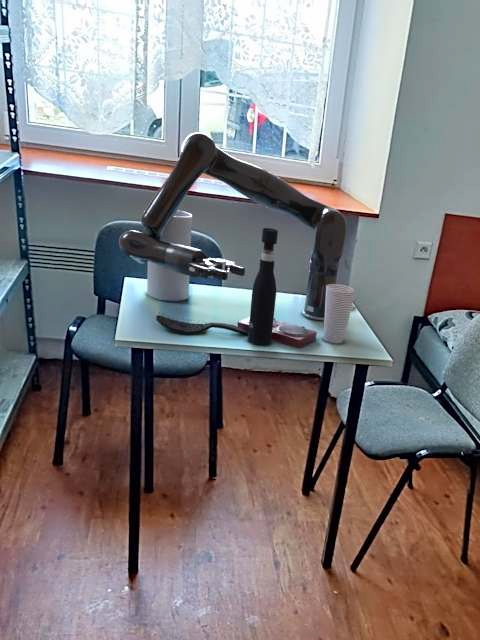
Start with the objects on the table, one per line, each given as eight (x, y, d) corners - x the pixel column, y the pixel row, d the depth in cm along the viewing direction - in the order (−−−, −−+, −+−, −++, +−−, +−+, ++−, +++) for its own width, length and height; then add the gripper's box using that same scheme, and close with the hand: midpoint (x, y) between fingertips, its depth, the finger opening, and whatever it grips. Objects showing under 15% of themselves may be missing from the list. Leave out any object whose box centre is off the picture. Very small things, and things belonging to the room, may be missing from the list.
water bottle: (274, 341, 184) (286, 231, 170) (264, 347, 179) (276, 233, 165) (254, 336, 186) (264, 225, 171) (243, 341, 180) (253, 228, 166)
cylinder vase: (187, 303, 203) (191, 219, 191) (145, 299, 200) (146, 213, 188) (188, 293, 213) (192, 212, 201) (148, 288, 210) (149, 206, 198)
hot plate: (258, 321, 199) (259, 312, 197) (317, 338, 193) (318, 329, 192) (237, 329, 189) (238, 319, 187) (298, 347, 183) (299, 338, 182)
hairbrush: (250, 329, 181) (156, 317, 173) (248, 342, 183) (155, 330, 175) (246, 320, 188) (156, 308, 180) (245, 332, 190) (155, 321, 182)
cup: (344, 347, 190) (353, 294, 183) (316, 341, 191) (323, 288, 183) (349, 339, 198) (357, 287, 190) (321, 333, 198) (329, 282, 191)
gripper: (169, 249, 174) (221, 263, 169) (201, 244, 186) (250, 257, 181) (169, 277, 177) (220, 292, 173) (200, 270, 189) (248, 284, 185)
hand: (235, 274), depth 177 cm, fingers open, 8 cm apart
